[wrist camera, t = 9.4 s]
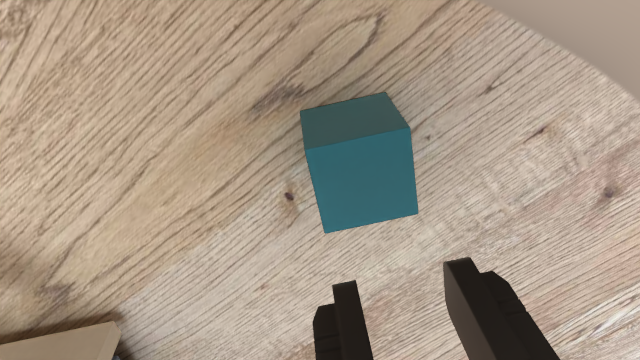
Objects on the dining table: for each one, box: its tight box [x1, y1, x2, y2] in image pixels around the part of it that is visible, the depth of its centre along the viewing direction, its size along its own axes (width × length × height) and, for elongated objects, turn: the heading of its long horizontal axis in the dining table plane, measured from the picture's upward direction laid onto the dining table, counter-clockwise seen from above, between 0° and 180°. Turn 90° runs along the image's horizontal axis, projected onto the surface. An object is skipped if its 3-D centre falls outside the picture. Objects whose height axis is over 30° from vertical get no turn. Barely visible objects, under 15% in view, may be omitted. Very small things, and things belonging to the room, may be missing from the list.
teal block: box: [300, 92, 418, 233], centre depth 20 cm, size 4×4×5 cm
